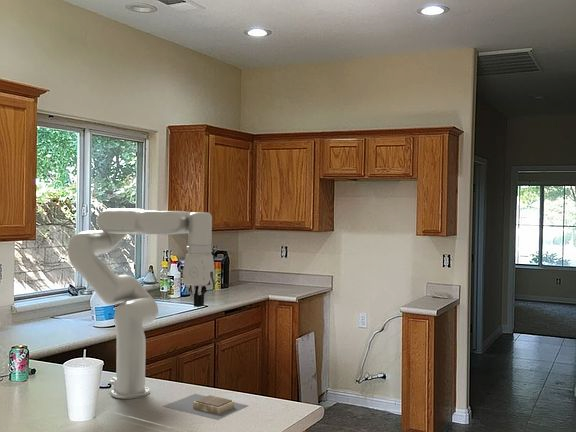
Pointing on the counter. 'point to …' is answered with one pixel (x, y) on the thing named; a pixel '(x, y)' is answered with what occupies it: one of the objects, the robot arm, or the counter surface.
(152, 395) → the counter surface
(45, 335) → the counter surface
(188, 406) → the rubber mat
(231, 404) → the birch tile
